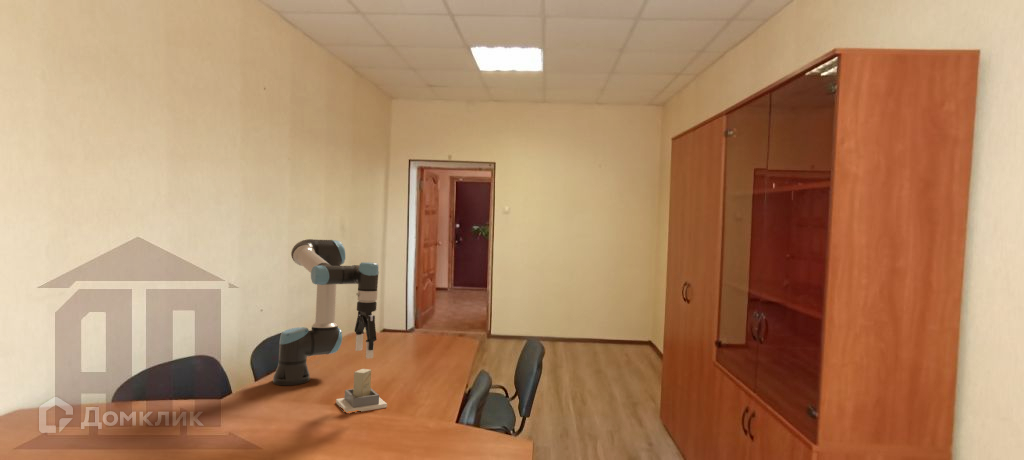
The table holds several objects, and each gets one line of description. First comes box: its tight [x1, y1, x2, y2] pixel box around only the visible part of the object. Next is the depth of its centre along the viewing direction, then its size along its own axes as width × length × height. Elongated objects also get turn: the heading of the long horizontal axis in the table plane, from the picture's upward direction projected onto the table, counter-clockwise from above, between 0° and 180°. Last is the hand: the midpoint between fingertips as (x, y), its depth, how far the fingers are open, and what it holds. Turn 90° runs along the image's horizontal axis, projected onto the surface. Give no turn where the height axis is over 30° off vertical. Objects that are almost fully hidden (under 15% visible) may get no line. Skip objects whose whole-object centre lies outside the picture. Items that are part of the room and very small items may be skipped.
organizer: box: [335, 387, 388, 412], centre depth 192 cm, size 14×16×5 cm
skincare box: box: [352, 368, 372, 398], centre depth 192 cm, size 6×4×12 cm
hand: (363, 354), depth 193 cm, fingers open, 13 cm apart
